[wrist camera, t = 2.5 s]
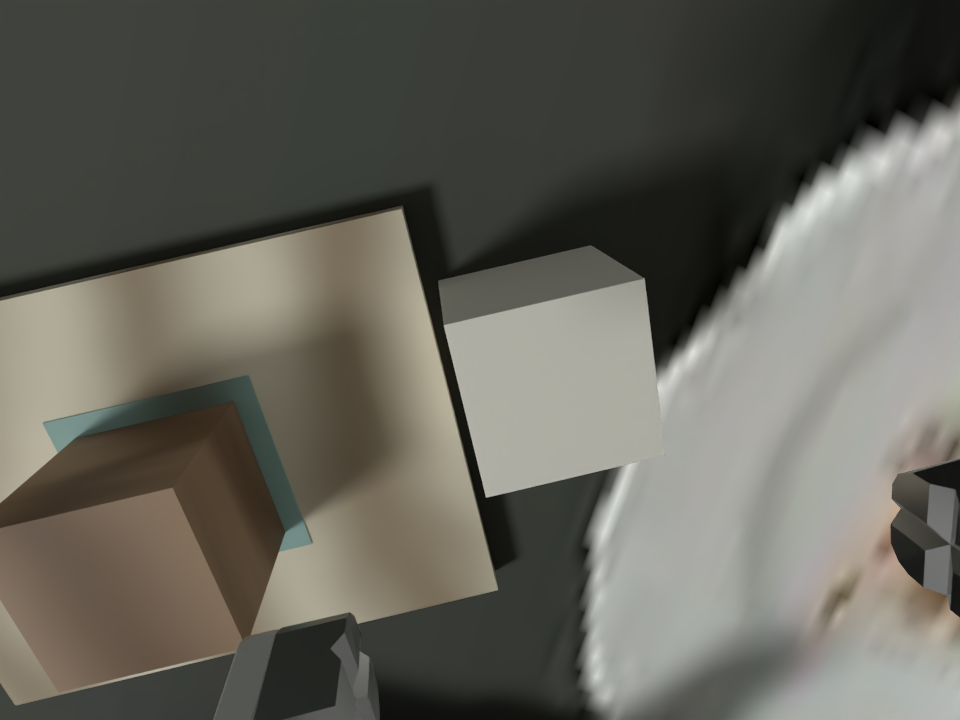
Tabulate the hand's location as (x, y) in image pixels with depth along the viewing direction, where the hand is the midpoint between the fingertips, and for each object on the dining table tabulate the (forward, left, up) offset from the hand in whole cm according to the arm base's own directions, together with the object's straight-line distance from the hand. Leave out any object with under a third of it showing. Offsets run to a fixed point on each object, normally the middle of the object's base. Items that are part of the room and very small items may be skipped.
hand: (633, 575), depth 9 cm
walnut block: (+12, +2, -11) cm, 16 cm away
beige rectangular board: (+12, +2, -12) cm, 17 cm away
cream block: (0, 0, -12) cm, 12 cm away
